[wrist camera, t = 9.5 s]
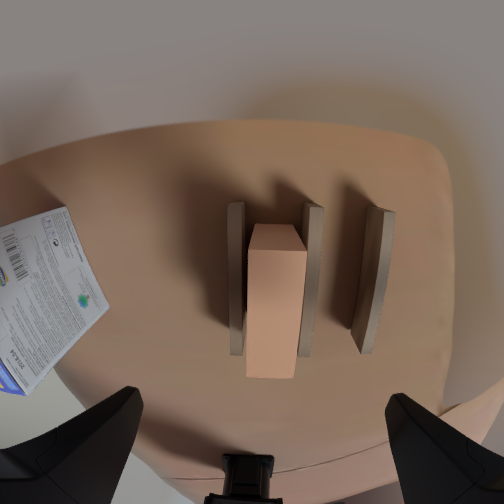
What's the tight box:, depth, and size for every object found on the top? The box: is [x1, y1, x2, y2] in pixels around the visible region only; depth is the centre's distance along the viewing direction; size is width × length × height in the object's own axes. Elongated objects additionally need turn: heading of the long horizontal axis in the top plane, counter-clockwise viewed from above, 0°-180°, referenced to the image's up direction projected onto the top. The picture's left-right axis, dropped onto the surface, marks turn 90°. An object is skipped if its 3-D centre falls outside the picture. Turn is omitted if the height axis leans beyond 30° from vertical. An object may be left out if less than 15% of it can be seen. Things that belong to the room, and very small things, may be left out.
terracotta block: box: [246, 224, 307, 378], centre depth 16 cm, size 7×2×7 cm, turn 179°
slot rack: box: [227, 201, 396, 357], centre depth 17 cm, size 10×10×3 cm
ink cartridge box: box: [0, 206, 110, 396], centre depth 13 cm, size 10×6×14 cm, turn 19°
